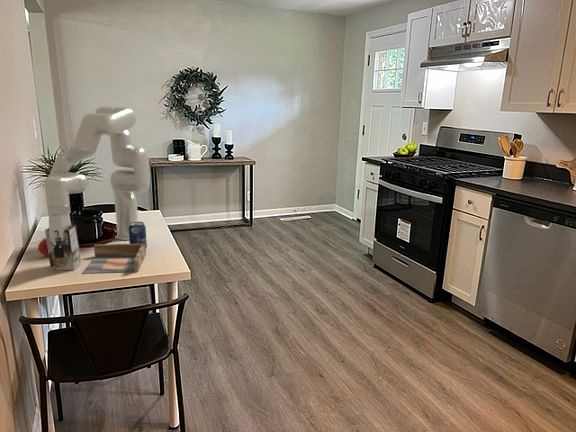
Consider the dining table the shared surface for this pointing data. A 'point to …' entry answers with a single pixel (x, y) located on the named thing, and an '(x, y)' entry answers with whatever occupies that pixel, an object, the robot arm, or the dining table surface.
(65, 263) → the coffee box
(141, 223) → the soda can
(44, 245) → the onion
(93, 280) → the dining table surface
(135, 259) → the corner arena
